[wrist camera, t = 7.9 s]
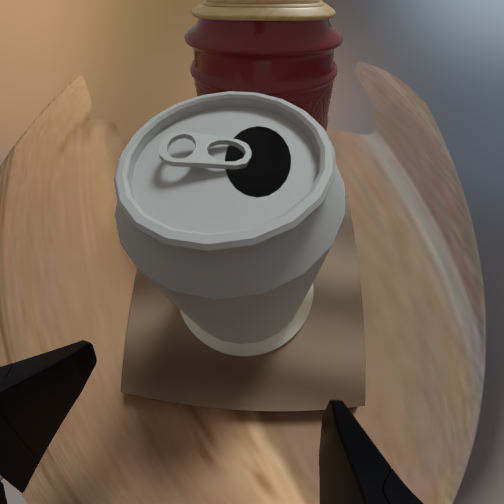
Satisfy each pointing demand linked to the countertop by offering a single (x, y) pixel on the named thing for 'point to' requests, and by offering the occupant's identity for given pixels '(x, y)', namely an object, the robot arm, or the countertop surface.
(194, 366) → the board
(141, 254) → the can
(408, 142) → the countertop surface
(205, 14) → the canister
